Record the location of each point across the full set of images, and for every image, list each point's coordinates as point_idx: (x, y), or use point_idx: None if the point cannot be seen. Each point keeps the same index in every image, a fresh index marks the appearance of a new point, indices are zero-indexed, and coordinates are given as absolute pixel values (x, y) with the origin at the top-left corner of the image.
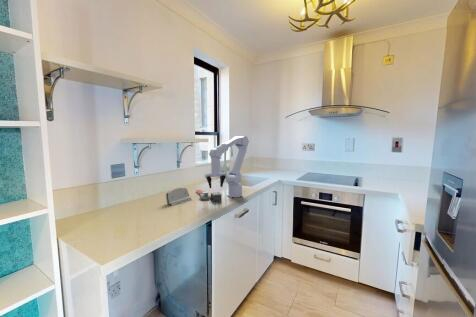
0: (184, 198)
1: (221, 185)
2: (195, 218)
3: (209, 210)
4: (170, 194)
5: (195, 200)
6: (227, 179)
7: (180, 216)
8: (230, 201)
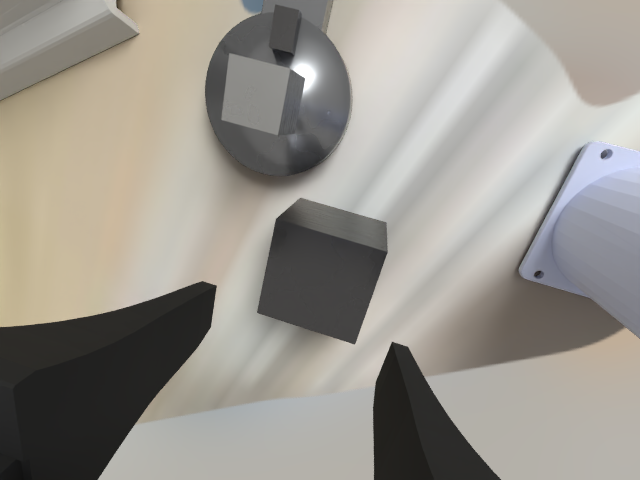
0: (33, 37)
1: (375, 404)
2: None
3: (182, 385)
4: None
5: (168, 91)
6: None
7: None
8: (429, 346)
